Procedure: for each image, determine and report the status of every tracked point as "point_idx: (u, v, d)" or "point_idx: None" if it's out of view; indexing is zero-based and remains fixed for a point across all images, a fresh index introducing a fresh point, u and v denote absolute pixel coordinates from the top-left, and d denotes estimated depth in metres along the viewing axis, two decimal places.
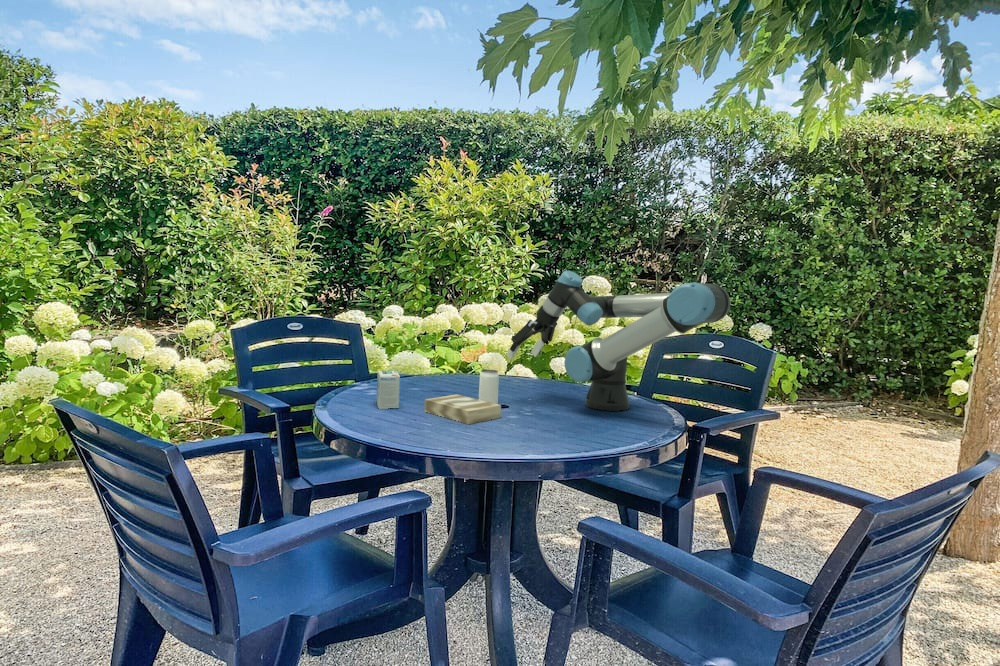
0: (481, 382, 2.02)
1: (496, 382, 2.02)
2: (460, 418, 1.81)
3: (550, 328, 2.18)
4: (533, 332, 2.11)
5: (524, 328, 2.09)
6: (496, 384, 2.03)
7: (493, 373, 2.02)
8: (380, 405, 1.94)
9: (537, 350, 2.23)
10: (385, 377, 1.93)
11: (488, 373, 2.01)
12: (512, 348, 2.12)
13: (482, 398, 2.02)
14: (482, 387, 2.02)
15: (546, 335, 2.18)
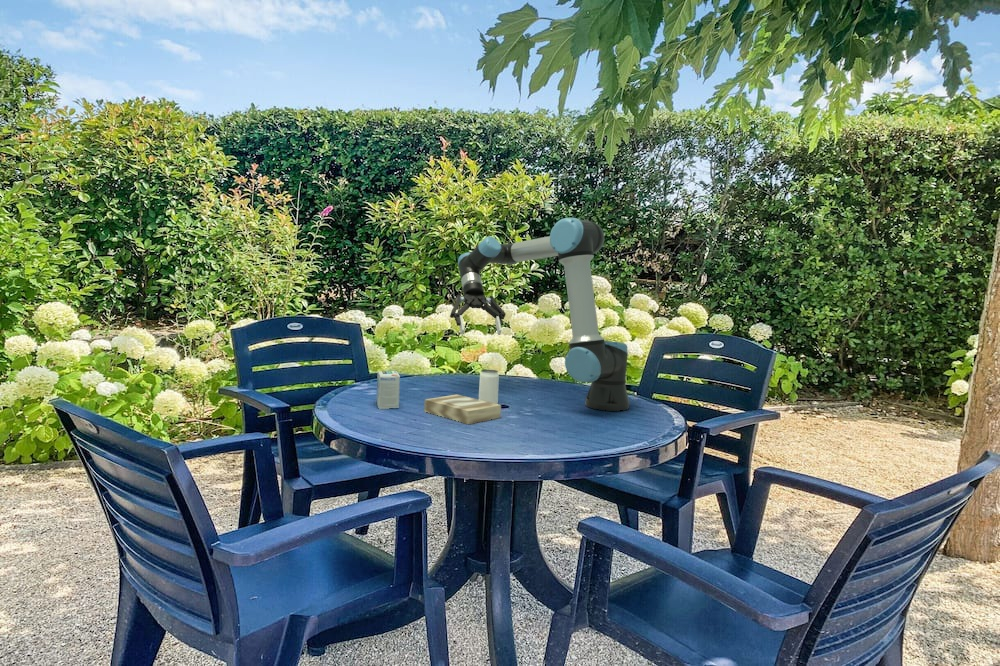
0: (481, 382, 2.02)
1: (496, 382, 2.02)
2: (460, 418, 1.81)
3: (492, 304, 2.23)
4: (466, 302, 2.19)
5: None
6: (496, 384, 2.03)
7: (493, 373, 2.02)
8: (380, 405, 1.94)
9: (498, 325, 2.16)
10: (385, 377, 1.93)
11: (488, 373, 2.01)
12: (456, 321, 2.13)
13: (482, 398, 2.02)
14: (482, 387, 2.02)
15: (490, 307, 2.20)
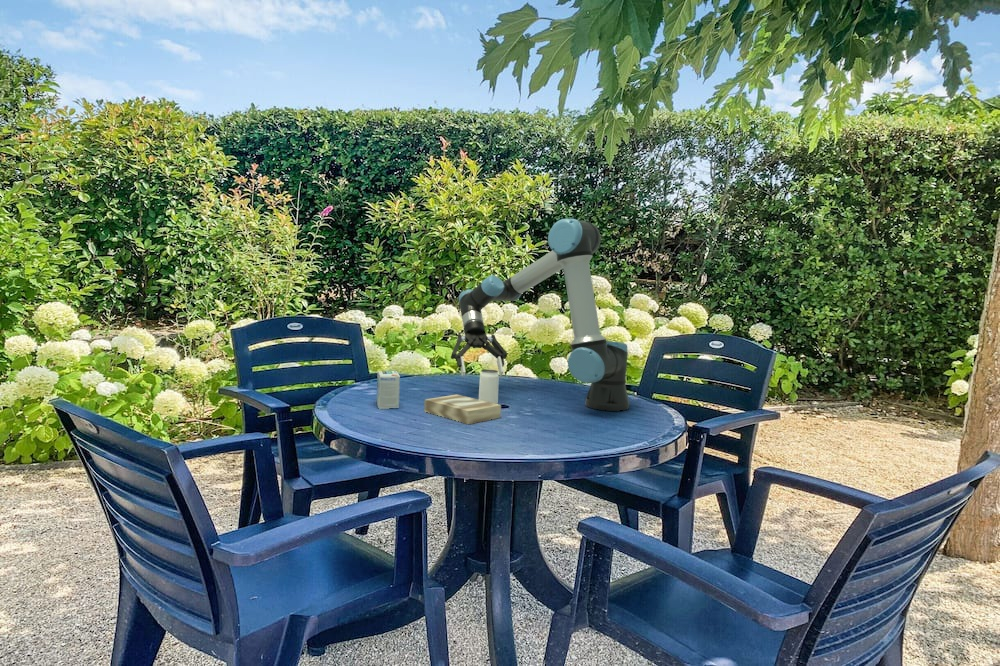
0: (481, 382, 2.02)
1: (496, 382, 2.02)
2: (460, 418, 1.81)
3: (494, 343, 2.19)
4: (467, 343, 2.15)
5: None
6: (496, 384, 2.03)
7: (493, 373, 2.02)
8: (380, 405, 1.94)
9: (499, 366, 2.12)
10: (385, 377, 1.93)
11: (488, 373, 2.01)
12: (457, 363, 2.09)
13: (482, 398, 2.02)
14: (482, 387, 2.02)
15: (492, 347, 2.16)
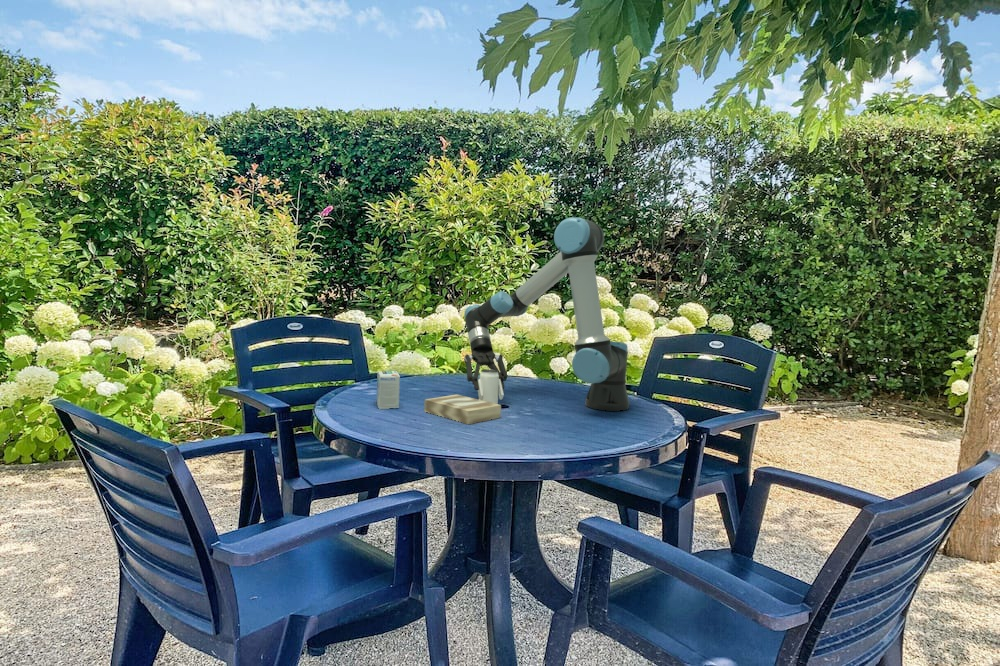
0: (481, 381, 2.02)
1: (496, 382, 2.02)
2: (460, 418, 1.81)
3: (499, 363, 2.11)
4: (477, 362, 2.08)
5: (466, 366, 2.08)
6: (496, 384, 2.03)
7: (493, 373, 2.02)
8: (380, 405, 1.94)
9: (499, 389, 2.04)
10: (385, 377, 1.93)
11: (488, 373, 2.01)
12: (474, 386, 2.02)
13: (482, 398, 2.02)
14: (482, 387, 2.02)
15: (495, 367, 2.08)
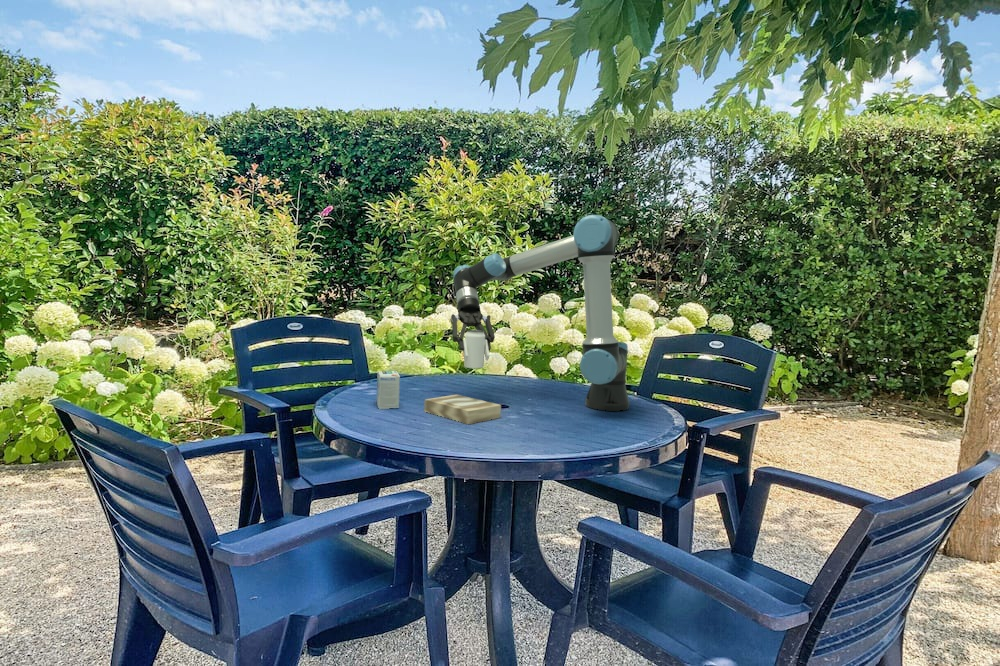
0: (467, 342, 1.95)
1: (482, 342, 1.95)
2: (460, 418, 1.81)
3: (486, 324, 2.04)
4: (463, 322, 2.01)
5: (452, 326, 2.01)
6: (482, 344, 1.95)
7: (479, 333, 1.95)
8: (380, 405, 1.94)
9: (485, 350, 1.96)
10: (385, 377, 1.93)
11: (473, 333, 1.94)
12: (460, 346, 1.95)
13: (467, 359, 1.95)
14: (467, 347, 1.95)
15: (482, 328, 2.01)
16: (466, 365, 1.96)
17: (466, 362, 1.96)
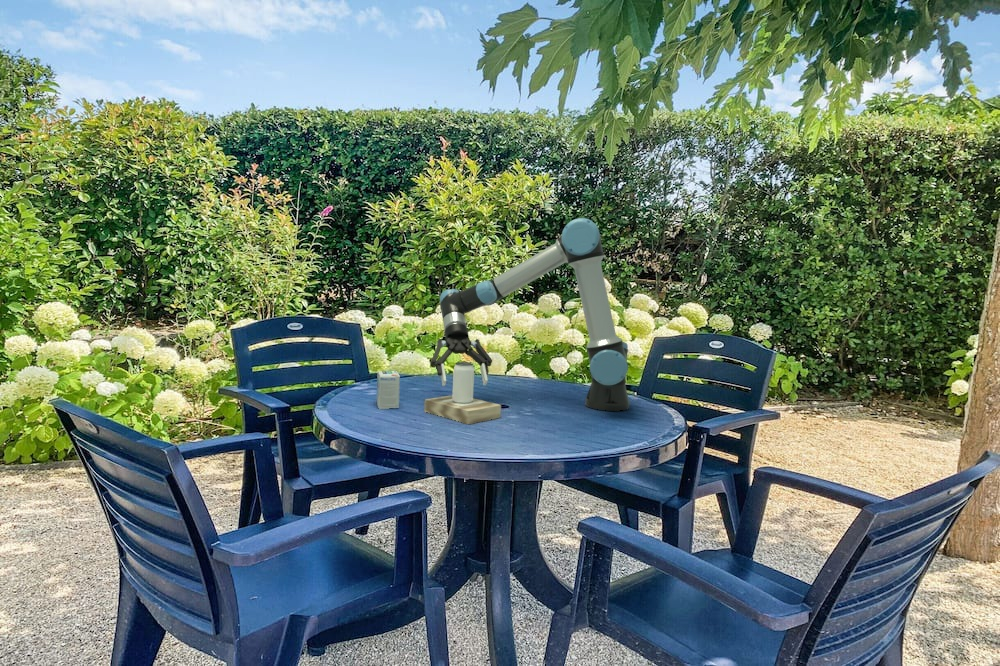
0: (455, 375, 1.87)
1: (471, 376, 1.88)
2: (460, 418, 1.81)
3: (478, 349, 1.97)
4: (448, 348, 1.93)
5: None
6: (471, 378, 1.88)
7: (468, 366, 1.87)
8: (380, 405, 1.94)
9: (483, 374, 1.90)
10: (385, 377, 1.93)
11: (462, 366, 1.87)
12: (437, 371, 1.88)
13: (456, 393, 1.88)
14: (455, 381, 1.87)
15: (475, 353, 1.94)
16: (454, 400, 1.88)
17: (454, 396, 1.88)
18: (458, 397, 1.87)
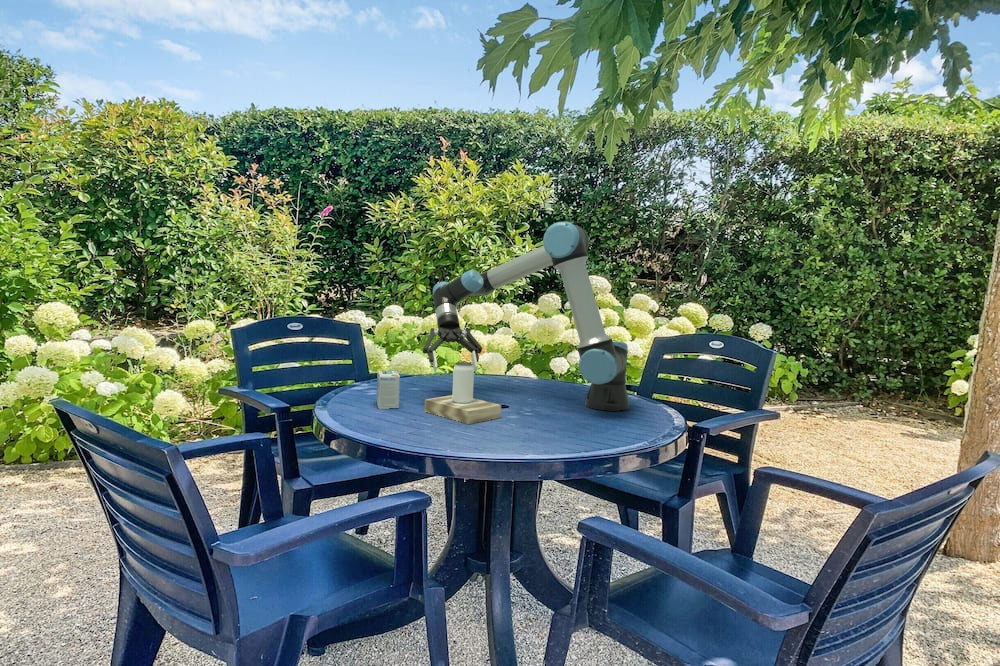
0: (455, 375, 1.88)
1: (471, 376, 1.88)
2: (460, 418, 1.81)
3: (468, 337, 2.09)
4: (440, 336, 2.05)
5: None
6: (471, 378, 1.88)
7: (467, 366, 1.87)
8: (380, 405, 1.94)
9: (474, 361, 2.03)
10: (385, 377, 1.93)
11: (462, 366, 1.87)
12: (429, 357, 2.00)
13: (456, 393, 1.88)
14: (455, 381, 1.88)
15: (466, 341, 2.07)
16: (454, 400, 1.88)
17: (454, 397, 1.88)
18: (458, 397, 1.87)
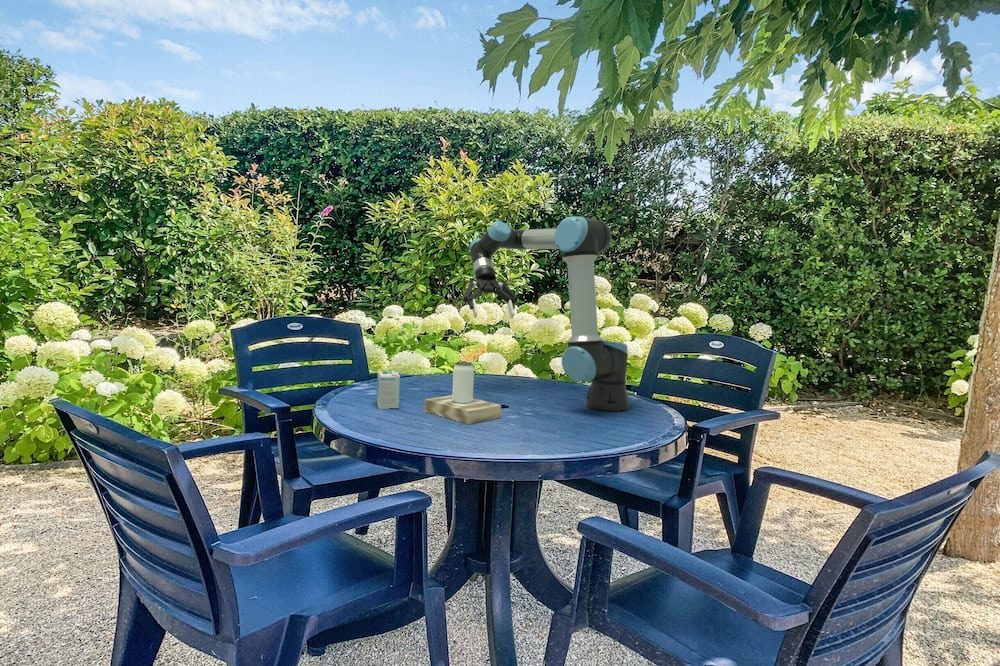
0: (455, 375, 1.88)
1: (471, 376, 1.88)
2: (460, 418, 1.81)
3: (504, 289, 2.25)
4: (478, 287, 2.20)
5: None
6: (471, 378, 1.88)
7: (467, 366, 1.87)
8: (380, 405, 1.94)
9: (510, 309, 2.18)
10: (385, 377, 1.93)
11: (462, 366, 1.87)
12: (469, 305, 2.15)
13: (456, 393, 1.88)
14: (455, 381, 1.88)
15: (502, 291, 2.22)
16: (454, 400, 1.88)
17: (454, 397, 1.88)
18: (458, 397, 1.87)
